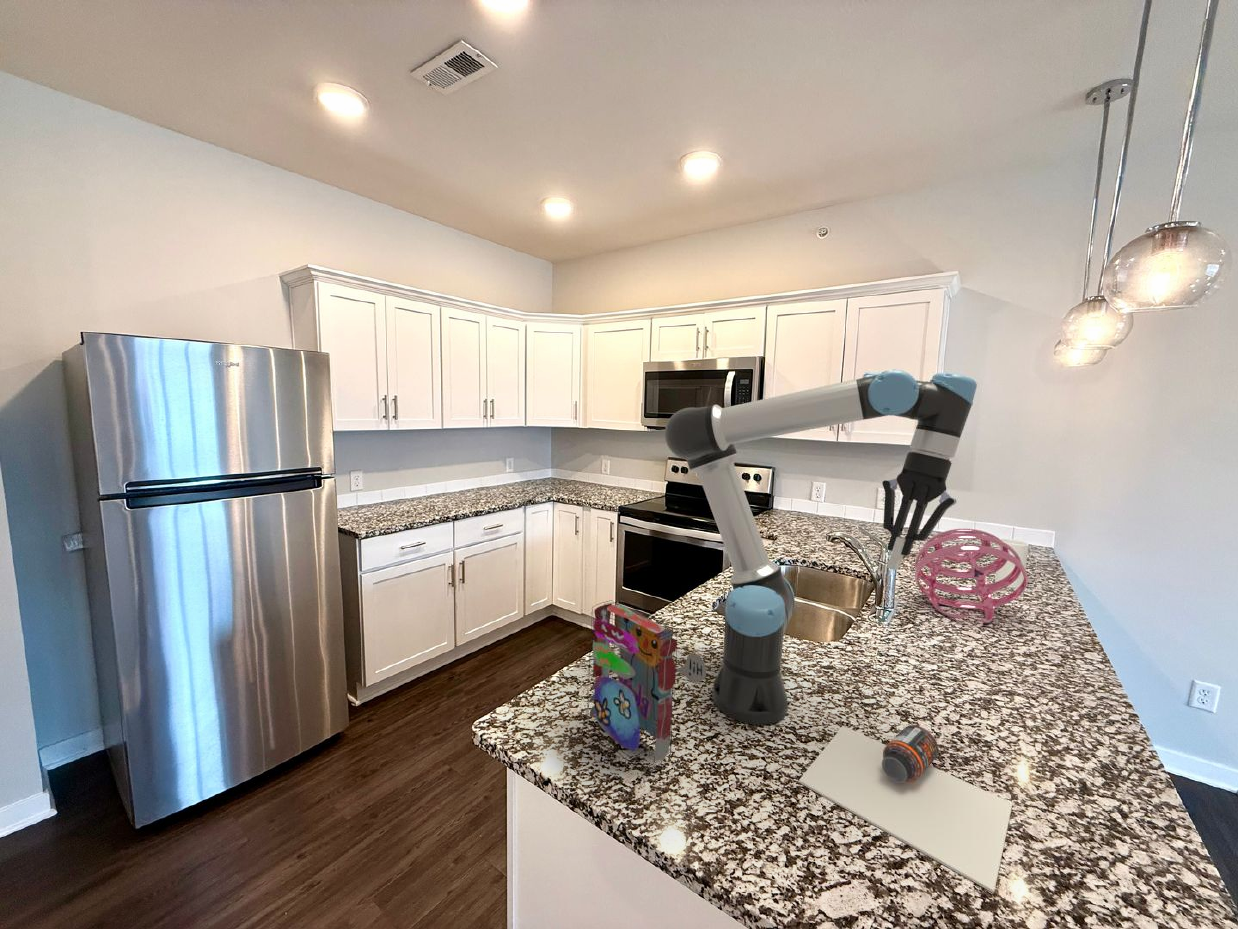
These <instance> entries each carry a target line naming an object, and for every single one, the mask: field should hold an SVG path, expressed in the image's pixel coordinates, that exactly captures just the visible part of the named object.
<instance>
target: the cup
mask: <svg viewBox="0 0 1238 929" xmlns="http://www.w3.org/2000/svg"><path fill="white" fill-rule="evenodd" d="M999 539H1000V540H1002V541H1003V542H1005V543H1006V544H1008V545H1009V546H1010V547H1012V548H1013V549H1014V550H1015V551H1016V553H1017V554H1018V555H1019V557H1020V559H1021V562H1022V564H1023V566H1024V567H1025V569H1026V570H1027V562H1028V561H1027V560H1028V555H1029V548H1030V547H1029V546H1030V543H1029V542H1027V541H1025V540H1019V539H1014V538H1013V539H1012V538H999ZM998 549H999V550H1000V546H999V545H998ZM1008 551H1009V554H1011V555H1012V556H1014V555H1013V553H1012V552H1011V551H1010V550H1008ZM1014 557H1015V556H1014ZM1014 567H1015V564H1013V563H1012V562H1010V561H1007V562H1006V564H1005V565H1004V566H1003V567H1002V568H1001V569H999V570H998V571H996V572H995V576H994V583H995V582H998V581H1000V580H1002V579H1004V578H1005V577H1007V576H1008V575H1009V574H1010V573H1011V572H1012V571H1013V569H1014ZM1022 582H1023V573H1022V571H1021V573H1020V575H1019V577H1018V578H1017V579H1016V580H1015V581H1014V582H1013V583H1012V584H1010V585H1009V586H1007V587H1006V588H1011V589H1018V588H1019V586H1020V585H1021V584H1022Z"/></svg>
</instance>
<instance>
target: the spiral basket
mask: <svg viewBox="0 0 1238 929" xmlns="http://www.w3.org/2000/svg"><path fill="white" fill-rule="evenodd" d="M965 539H967V540H968V539H969V540H971V539H972V540H979V541H980V544H957V545H952V546H951V545H950V546H946V547H943V543H944V542H949V541H954V540H965ZM1000 539H1001V538H999V537H997V535H994V534H993V533H990V532H987V531H983V530H980V529H974V528H956V529H955V528H954V529H948V530H945V531H941V532H940V533H939V532H938V533H936V534H935V535H933V536H932V537H930V538H929V539H928V540H927V541H926V542H925V543H924V545H923V546H922V547H921V549H920V550H919V551H918V552H917V554H916V556H915V557H916V558H915V559H914V560H915V561H914V568H915V569H914V580H915V584H916V586H917V587H918V589H919V591H920V592H921V593H922V594H924V595H925V596H926V597H927V598H928V599H929V601H930V603H931V604H932V606H933V607H934V608H935V609H936V611H938V612H939V613H941V614H942V615H944V616H946V617H948V618H951V619H958V620H959V619H966V618H968V615H966V614H960V615H959V614H951V613H948V612H946V611H945V610H943V609H942V608H941V607H940V605H939V604H941V605H944V606H947V607H951V608H957V609H963V610H982V611H984V618H983V617H982V616H980V617H979V620H980V622H981V623H984V624H988V623H991V622H992V621H993V620H994V615H995V609H996V608H998V607H1001V606H1003V605H1006V604H1009V603H1012V601H1014V600H1016V599H1017V598H1019V597H1020V596H1022V594H1023V593H1024V592H1025V590H1026V588H1027V586H1028V582H1029V581H1028V579H1029V578H1028V572H1027V568H1026V569H1025V567H1024V566H1023V564H1022V562H1021V559H1020V557H1019V555H1018V554H1017V553H1016V551H1015V550H1014V549H1013V548H1012V547H1010V546H1009V545H1008V544H1006V543H1005V542H1003V541H1002V540H1000ZM991 543H995V544H996V545H998V547H999V546H1000V550H999V548H995V547H992V544H991ZM932 547H933V550H934V551H931V552H930V553H928V549H930V548H932ZM1008 550H1010V551H1011V552H1012V553H1013V555H1014V556H1015V557H1014V556H1012V555H1011V554H1009V551H1008ZM962 553H963V554H962ZM986 555H992V556H995V557H997V558H996V559H995V560H994V561H993V562H991V563H990V564H988V565H985V566H983V567H981V566H979V565H978V563H977V560H980V559H982V558H983V557H985V556H986ZM920 558H921V559H920ZM934 560H935V561H934ZM945 560H947V561H951V562H957V563H969V564H970V566H971V569H968V570H958V569H951V568H947V567H945V566H942V565H943V564H942V563H943V561H945ZM1007 561H1010V562H1012V563H1013V564H1015V567H1014V569H1013V571H1012V572H1011V573H1010V574H1009V575H1008V576H1007V577H1005V578H1004V579H1002V580H1000V581H998V582H995V581H994V582H993V583H988V582H987V581H986V577H987V576H989V575H991V574H994V573H996V571H998V570H999V569H1001V568H1002V567H1003V566H1004V565H1005V564H1006V562H1007ZM925 566H927V568H928V569H929V574H928V575H927V574H925V573H924V571H923V570H922V569H923V568H924V567H925ZM1021 571H1022V573H1023V582H1022V584H1021V585H1020V586H1019V588H1015V590H1013V592H1011V593H1009V594H1007V595H1005V596H1002V597H999V598H997V599H996V598H995V599H994V598H993V597H992V594H993V593H996V592H997V591H1001V590H1003V589H1005V588H1008V587H1007V586H1009V585H1010V584H1012V583H1013V582H1014V581H1015V580H1016V579H1017V578H1018V577H1019V575H1020V573H1021ZM938 575H941V576H945V577H949V578H954V579H974V581H976V585H975V586H955V585H949V584H945V583H942V582H939V581H938V579H937V576H938ZM919 578H920V579H921V580H922V581H923V582H924V584H925V585H926V587H927V588H925V587H924V586H923V585H922V583H921V582H920V580H919ZM936 590H938V591H941V592H945V593H949V594H954V595H962V596H964V595H965V596H979V597H980V598H981V600H980V601H976V602H965V601H964V602H963V601H957V600H951V599H947V598H943V597H941V596H940V595H937V594H936Z"/></svg>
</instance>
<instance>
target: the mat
mask: <svg viewBox="0 0 1238 929" xmlns="http://www.w3.org/2000/svg"><path fill="white" fill-rule="evenodd" d="M886 745H887V744H884V743H882V742H880V741H877V740H875V739H873V738H871V737H869V736H867V735H864V734H863V733H861V732H858V731H856V730H854V729H851V728H850V727H847V726H845V725H842V726H841V727H840V729H839V730H838V731H837V733H836V734H835V735H834V736H833V737H832V738H831V740H830V741H829V742H828V743H827V745H826V746H825V747H824V748H823V749H822V751H821V752H820V754H819V755H818V756H817V757H816V758H815V759H814V761H813V762H812V763H811V764H810V766H809V767H808V768H807V769H806V771H805V772H804V773H803V774H802V776H801V777H800V779H798V783H799V784H801V785H803V786H804V787H806V788H808V789H809V790H811V791H813V792H815V793H817V794H818V795H820V796H822V797H824V798H826V799H827V800H829V801H831V802H832V803H834V804H836V805H838V806H839V807H840V808H843V809H845V810H847V811H848V812H850V813H852V814H854V815H855V816H857V817H858V818H860V819H862V820H864V821H866V822H868V823H869V824H871V825H873V826H874V827H876V828H878V829H880V830H882V831H884V832H885V833H886V834H888V835H891V836H892V837H894V838H896V839H897V840H900V841H901V842H902V843H904V844H906V845H907V846H910V847H912V849H914V850H917V851H919V853H922V854H923V855H926V856H928V857H929V858H931V859H932V860H934V861H936V862H938V863H939V864H942V865H943V866H945V867H947V869H950V870H952V871H954V872H956V873H957V874H959V875H961V876H963V877H964V878H966V879H968V880H969V881H971V882H973V883H975V884H976V885H978V886H980V887H982V888H984V889H985V890H987V891H989V892H991V893H992V894H995V891H996V885H997V880H998V876H999V871H1000V866H1001V862H1002V858H1003V857H1002V856H1003V852H1004V847H1005V842H1006V836H1007V832H1008V827H1009V822H1010V818H1011V813H1012V810H1013V809H1012V808H1013V802H1011V801H1008V800H1007V799H1004V798H1002V797H1000V796H998V795H996V794H994V793H991V792H989V791H986V790H985V789H982V788H980V787H978V786H975V785H974V784H971V783H969V782H968V781H965V780H963V779H960V778H959V777H956V776H954V775H952V774H949V773H947V772H946V771H943V770H941V769H939V768H936V767H934V766H932V765H930V766H929V767H928V768H927V769H926V770H925V772H924V773H923V774H922V775H921V776H920V777H919V778H918V779H917V780H915V781H910V782H908V781H905V782H903V783H898V782H895V781H893V780H891V779H890V778H889V777H888V776H887V775H886V774H885V772H884V770H883V768H882V760H883V750H884V748H885V747H886Z"/></svg>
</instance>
